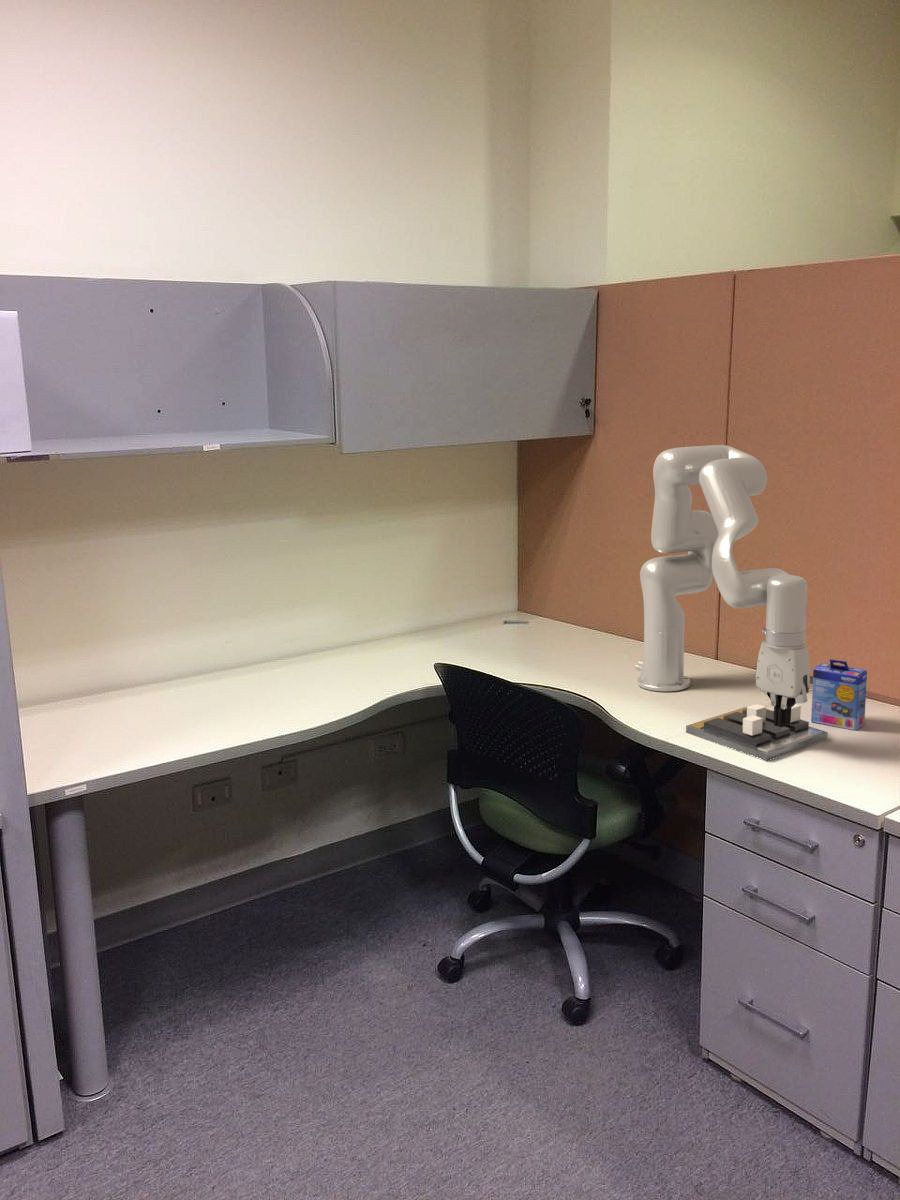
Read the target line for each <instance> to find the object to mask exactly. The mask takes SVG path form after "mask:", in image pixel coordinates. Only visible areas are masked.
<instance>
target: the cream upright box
mask: <svg viewBox="0 0 900 1200" xmlns="http://www.w3.org/2000/svg"><path fill="white" fill-rule="evenodd" d="M762 720H763V718H760V717H757V716H754V715H752V716H749V717H746V718H743V733H746V734H749V735H752V736H753V735H756V734H759V733H762Z"/></svg>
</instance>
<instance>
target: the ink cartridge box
mask: <svg viewBox="0 0 900 1200" xmlns="http://www.w3.org/2000/svg"><path fill="white" fill-rule="evenodd" d="M840 664H842V665H840ZM812 672H813V673H812V674H813V675H812V695H811V697H812V698H811V715H810V717H811V719H810V722H811V723H814V722H815V723H816V724H819V725H824V724H825V725H826V726H829V727H830V726H831V727H835V728H840V729H845V730H848V731H849V730H851V731H858V730H859V729H860V728H861V727H863V726H864V725H865V724H866V723H865V719H866V718H865V717H866V700H867V699H866V697H867V696H866V695H867V682H868V681H867V680H868V679H867V677H868V671H867V669H863V668H855V667H850V666H849V665H848V663H847V661H845V660H837V659H831V658H830V659H829V663H819V665H817V666H816V667H814V668H813V670H812ZM825 725H824V726H825Z"/></svg>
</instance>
